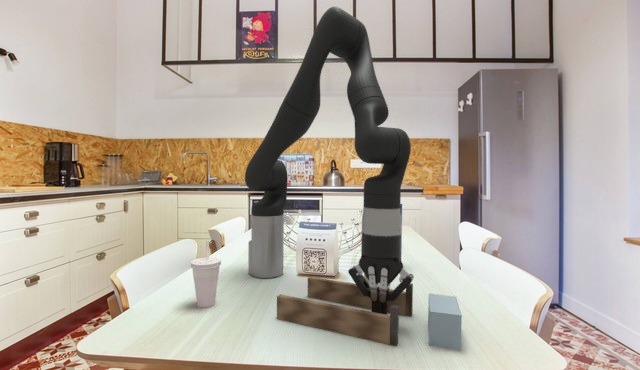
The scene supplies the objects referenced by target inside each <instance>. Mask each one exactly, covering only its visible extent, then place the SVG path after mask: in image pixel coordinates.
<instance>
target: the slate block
mask: <svg viewBox="0 0 640 370" xmlns="http://www.w3.org/2000/svg"><path fill="white" fill-rule="evenodd" d="M427 307H428V308H427V309H428V311H427V312H428V313H427V314H428V317H427V319H428V320H427V325H428V326H427V327H428V328H427V329H428V331H427V332H428V346H429V347H434V348H442V349H447V350H455V351H462V324H463V322H462V319H463V318H462V315H463V314H462V312H461V308H460V305H459V301H458V298H457V296H455V295H454V296H453V295H444V294H435V293H428V306H427Z"/></svg>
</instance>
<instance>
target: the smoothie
mask: <svg viewBox="0 0 640 370" xmlns="http://www.w3.org/2000/svg"><path fill="white" fill-rule="evenodd" d="M205 243H206V244H205V245H206V247H205V249H206V251H205V252H206V253H205V254H206V256H205V257H201V258H200V257H199V258H195V259H193V260H191V261H190V268H191V269H192V275H193V283H194V289H195V290H194V291H195V297H196V298H195V299H196V305H197V307H198V308H210V307H213V306H214V305H215V304H216V297H217V290H218V281H219V273H220V266H221V265H222V260H221V259H220V258H218V257H211V256H210V240H206V241H205Z"/></svg>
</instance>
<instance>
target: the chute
mask: <svg viewBox="0 0 640 370" xmlns="http://www.w3.org/2000/svg"><path fill="white" fill-rule="evenodd" d="M393 290H394V289H391V288H390V289H389V292H392V291H393ZM413 293H414V284H413V283H412V282H411V283H410V284H409V285H408V286H407V287H406V288H405V290H404V291H403V292H402V293H401V294H400V295H399V296H398V297H397V298H396V299H395V300H394V301H388V313H389V314H387V315H386V314H380V313H375V312H371V311H370V310H364V309H372V300H371V298H369V297H368V296H364V295H363V294H362V293H361V291H360V290H359V288H358V287H357V285H356V283H355V282H354V283H353V282H345V281H341V280H340V281H339V280H333V279H326V278H323V277H322V278H320V277H315V276H309V277H307V298H311V299H312V300H311V299H306V298H302V297H295V296H291V295H285V294H279V295H277V296H276V319H278V320H282V321H286V322H291V323H295V324H298V325H304V326H308V327H313V328H316V329H319V330H320V329H321V330H324V331H330V332H334V333H338V334H344V335H347V336H351V337H355V338H360V339H363V340H369V341H373V342H378V343H380V344H381V343H382V344H387V345H389V346H396V347H398V344H399V332H400V331H399V327H400V325H399V324H400V323H399V322H400V321H399V320H400V319H399V318H400V317H399V316H400V315H402V316H408V317H412V315H413V303H414V300H413V299H414V297H413ZM313 299H317V300H321V301H316V300H313ZM322 301H326V302H327V301H328V302H333V303H338V304H342V305H343V306H342V305H338V304H332V303H328V302H327V303H326V302H322ZM344 305H348V306H354V308H353V307H348V306H344ZM355 307H358V308H355ZM359 308H364V309H359Z"/></svg>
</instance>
